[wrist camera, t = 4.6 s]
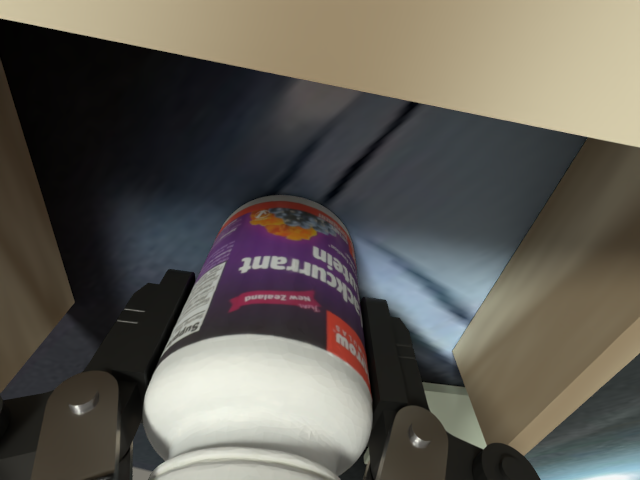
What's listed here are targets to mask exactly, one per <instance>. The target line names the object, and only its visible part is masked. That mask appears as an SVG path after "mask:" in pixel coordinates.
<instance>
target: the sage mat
mask: <svg viewBox="0 0 640 480" xmlns="http://www.w3.org/2000/svg"><path fill="white" fill-rule="evenodd" d="M422 384H423V388H424V391H425V395H426V399H427V403H428V406H429V409H430V411H431V413H432V414H434V415H435V416H436V417H437V418H438V419H439V421H440V422H441V423H442V425H443V426H444V428H445V430H446V431H447V432H448V433H450V434H451V435H453V436H455V437H457V438H459V439H461V440H464V441H466V442H468V443H470V444H472V445H475V446H477V447H479V448H481V449H484V448H485V447H486V446H487V445H486V442H485V439H484V437H483V434H482V431H481V428H480V426H479V423H478V420H477V417H476V415H475V412H474V409H473V407H472V404H471V401H470V398H469V396H468V393H467V390H466V387H459V386H451V385H442V384H434V383H426V382H422ZM369 460H370V455H369V447H368V449H367V451H366V452H365V454H364V464H368V462H369Z"/></svg>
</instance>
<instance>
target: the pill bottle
mask: <svg viewBox="0 0 640 480" xmlns="http://www.w3.org/2000/svg"><path fill="white" fill-rule="evenodd" d="M372 401H373V400H372V394H371V388H370V380H369V373H368V365H367V358H366V350H365V341H364V332H363V322H362V315H361V306H360V297H359V287H358V278H357V268H356V259H355V253H354V247H353V243H352V240H351V237H350V235H349V232H348V231H347V229H346V227H345V226H344V224H343V223H342V222H341V221H340V220H339V218H338V217H337V216H335V215H334V214H333V213H332V212H331V211H330V210H328V209H327V208H325V207H324V206H322V205H320V204H318V203H316V202H314V201H311V200H308V199H305V198H301V197H297V196H291V195H271V196H266V197H261V198H258V199H255V200H252V201H250V202H248V203H246V204H244V205H242V206H241V207H240V208H238V209H237V210H236V211H235V212H233V213H232V214H231V215H230V216H229V217H228V219H227V220H226V221H225V223H224V224H223V226H222V228H221V230H220V232H219V233H218V235H217V237H216V239H215V241H214V244H213V246H212V248H211V250H210V252H209V254H208V256H207V259H206V261H205V263H204V265H203V267H202V269H201V271H200V274H199V276H198V278H197V280H196V282H195V284H194V286H193V288H192V291H191V293H190V295H189V297H188V299H187V301H186V303H185V305H184V308H183V310H182V312H181V314H180V317H179V319H178V321H177V323H176V325H175V327H174V329H173V332H172V334H171V336H170V339H169V341H168V343H167V345H166V347H165V349H164V351H163V353H162V355H161V357H160V360H159V362H158V364H157V367H156V369H155V371H154V374H153V376H152V379H151V381H150V383H149V386H148V388H147V391H146V394H145V397H144V402H143V413H142V417H143V425H144V429H145V432H146V435H147V437H148V439H149V441H150V443H151V445H152V446H153V448H154V449H155V450H156V452H157V453H158V454H159V455H160V456H161V457H162V458H163V459H164V460H165V462H164V463H162V464H161V465H159V466H158V467H157V468H156V469H155V470H154V471H153V472H152V473H151V474H150V477H149V479H148V480H341V479H340V478H339V477H338V476H339V475H341V474H342V473H344V472H345V471H346V470H348V469H349V468H350V467H351V466H352V465H353V464H354V463H355V462H356V461H357V460H358V458H359V457H360V456H361V454H362V453H363V451H364V449H365V448H366V445H367V443H368V441H369V437H370V434H371V430H372V421H373V412H372Z"/></svg>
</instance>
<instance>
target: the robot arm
mask: <svg viewBox="0 0 640 480" xmlns="http://www.w3.org/2000/svg"><path fill="white" fill-rule="evenodd" d="M194 284H195V273H194V272H188V271H181V270H174V269H169V270H168V271H167V272H166V274H165V276H164V277H163V279H162V281H161V283H160V284H152V283H148V284H146V285H145V286H144V287H142V288H141V289H140V290H138V291H137V292H135V293H134V294H133V296H132V297H131V299H130V300H129V302H128V303H127V305H126V306H125V309H124V311H122V313H121V314H120V316H119V317H118V319H117V322H115V324H114V325H113V327H112V328H111V330H110V331H109V333H108V335H107V336H106V338H105V339H104V341H103V342H102V344H101V346H100V347H99V349H98V350H97V352H96V353H95V355H94V356H93V358H92V360H91V361H90V363H89V364H88V366H87V367H86V368H85V370H84V371H83V372H82V373H79V374H77V375H74V376H72V377H70V378H69V379H67V380H65V381H64V382H63V383H61V384H60V385H59V386H58V387H57V388H56V389H55V390H53V391H50V392H47V393H42V394H37V395H31V396H26V397H20V398H15V399H9V400H2V398H1V396H0V480H132V467H133V442H132V441H133V439H134V436H135V434H136V432H137V429H138V427H139V425H140V423H143V417H142V413H143V402H144V397H145V394H146V391H147V388H148V386H149V383H150V381H151V379H152V376H153V374H154V371H155V369H156V367H157V364H158V362H159V360H160V357H161V355H162V353H163V351H164V349H165V347H166V345H167V343H168V341H169V339H170V336H171V334H172V332H173V329H174V327H175V325H176V323H177V321H178V319H179V317H180V314H181V312H182V310H183V308H184V305H185V303H186V301H187V299H188V297H189V295H190V293H191V291H192V288H193V286H194ZM360 306H361V315H362V322H363V332H364V341H365V350H366V358H367V365H368V373H369V380H370V388H371V394H372V400H373V401H372V412H373V421H372V430H371V434H370V437H369V441H368V443H367V445H366V446H369V455H370V460H369V462H368V464H367V467H366V470H365V474H364V477H363V480H540V478H539V476H538V475H537V473H536V471H535V470H534V468H533V467H532V465H531V464H530V463H529V461H528V460H527V459H526V458H525V457H524V456H523V455H522V454H521V453H520V452H518V451H517V450H516V449H514V448H512V447H511V446H509V445H506V444H503V443H491V444H489V445H487V446H486V447H485V448H484V449H481V448H479V447H477V446H475V445H472V444H470V443H468V442H466V441H464V440H461V439H459V438H457V437H455V436H453V435H451V434H450V433H448V432H447V431H446V430H445V428H444V426H443V425H442V423H441V422H440V421H439V419H438V418H437V417H436V416H435V415H434V414H432V413H431V411H430V409H429V406H428V403H427V399H426V395H425V391H424V388H423V384H422V380H421V376H420V372H419V368H418V364H417V360H415V358H416V357H415V353H414V349H413V348H412V346H413V345H412V341H411V337H410V333H409V331H408V329H407V328H406V326H405V325H404V323H403V322H402V321H401V319H400V318H397V317H390V314H389V309H388V304H387V301H386V300H382V299H375V298H368V297H363V298H362V300H361V302H360Z"/></svg>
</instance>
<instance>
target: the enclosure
mask: <svg viewBox="0 0 640 480" xmlns="http://www.w3.org/2000/svg"><path fill="white" fill-rule="evenodd" d="M0 18H1V19H6V20H11V21H16V22H21V23H26V24H31V25H36V26H41V27H46V28H51V29H56V30H61V31H65V32H70V33H75V34H80V35H85V36H90V37H95V38H100V39H105V40H110V41H115V42H120V43H125V44H130V45H135V46H140V47H145V48H150V49H155V50H160V51H164V52H169V53H174V54H179V55H184V56H189V57H194V58H199V59H204V60H209V61H214V62H219V63H224V64H229V65H234V66H239V67H244V68H249V69H254V70H259V71H263V72H268V73H273V74H278V75H283V76H288V77H293V78H298V79H303V80H308V81H313V82H318V83H323V84H328V85H333V86H338V87H343V88H348V89H353V90H358V91H362V92H367V93H372V94H377V95H382V96H387V97H392V98H397V99H402V100H407V101H412V102H417V103H422V104H427V105H432V106H437V107H442V108H447V109H452V110H457V111H462V112H466V113H471V114H476V115H481V116H486V117H491V118H496V119H501V120H506V121H511V122H516V123H521V124H526V125H531V126H536V127H541V128H546V129H551V130H556V131H561V132H565V133H570V134H575V135H580V136H585V137H588V138H587V140H586V141H585V143H584V145H583V146H582V148H581V149H580V151H579V152H578V154H577V156H576V157H575V159H574V160H573V162H572V163H571V165H570V167H569V168H568V170H567V171H566V173H565V174H564V176H563V178H562V179H561V181H560V182H559V184H558V185H557V187H556V189H555V190H554V192H553V193H552V195H551V196H550V198H549V200H548V201H547V203H546V204H545V206H544V208H543V209H542V211H541V212H540V214H539V215H538V217H537V219H536V220H535V222H534V223H533V225H532V226H531V228H530V230H529V231H528V233H527V234H526V236H525V237H524V239H523V241H522V242H521V244H520V245H519V247H518V248H517V250H516V252H515V253H514V255H513V256H512V258H511V259H510V261H509V263H508V264H507V266H506V267H505V269H504V271H503V272H502V274H501V275H500V277H499V278H498V280H497V282H496V283H495V285H494V286H493V288H492V289H491V291H490V293H489V294H488V296H487V297H486V299H485V300H484V302H483V304H482V305H481V307H480V308H479V310H478V311H477V313H476V315H475V316H474V318H473V319H472V321H471V322H470V324H469V326H468V327H467V329H466V330H465V332H464V334H463V335H462V337H461V338H460V340H459V341H458V343H457V345H456V346H455V348H454V349H453V351H452V352H453V355H454V357H455V360H456V363H457V366H458V368H459V371H460V374H461V377H462V379H463V382H464V385H465V387H466V390H467V393H468V396H469V398H470V401H471V404H472V407H473V409H474V412H475V415H476V417H477V420H478V423H479V426H480V428H481V431H482V434H483V437H484V439H485V442H486V445H489V444H491V443H503V444H506V445H509V446H511V447H512V448H514V449H516V450H517V451H518V452H520V453H521V454H522V455H523V456H524V455H525V454H526V453H528V452H529V451H530V450H531V449H532V448H533V447H534V446H535V445H537V444H538V443H539V442H540V441H541V440H542V439H543V438H544V437H546V436H547V435H548V434H549V433H550V432H551V431H552V430H553V429H555V428H556V427H557V426H558V425H559V424H560V423H561V422H562V421H564V420H565V419H566V418H567V417H568V416H569V415H570V414H571V413H573V412H574V411H575V410H576V409H577V408H578V407H579V406H580V405H582V404H583V403H584V402H585V401H586V400H587V399H588V398H589V397H591V396H592V395H593V394H594V393H595V392H596V391H597V390H598V389H600V388H601V387H602V386H603V385H604V384H605V383H606V382H607V381H609V380H610V379H611V378H612V377H613V376H614V375H615V374H616V373H618V372H619V371H620V370H621V369H622V368H623V367H624V366H625V365H627V364H628V363H629V362H630V361H631V360H632V359H633V358H635V357H636V356H637V355H638V354H639V353H640V0H0ZM74 303H75V301H74V298H73V295H72V291H71V288H70V285H69V281H68V278H67V275H66V272H65V268H64V265H63V262H62V259H61V255H60V252H59V249H58V246H57V242H56V239H55V236H54V232H53V229H52V226H51V223H50V219H49V216H48V213H47V210H46V206H45V203H44V200H43V196H42V193H41V190H40V187H39V183H38V180H37V177H36V174H35V170H34V167H33V164H32V160H31V157H30V154H29V151H28V147H27V144H26V141H25V138H24V134H23V131H22V128H21V125H20V121H19V118H18V115H17V111H16V108H15V105H14V102H13V98H12V95H11V92H10V89H9V85H8V82H7V79H6V75H5V72H4V69H3V66H2V62H1V59H0V393H1V392H2V391H3V389H4V388H5V387H6V386H7V384H8V383H9V382H10V381H11V380H12V378H13V377H14V376H15V375H16V374H17V372H18V371H19V370H20V369H21V367H22V366H23V365H24V364H25V363H26V361H27V360H28V359H29V358H30V356H31V355H32V354H33V353H34V352H35V350H36V349H37V348H38V347H39V345H40V344H41V343H42V342H43V341H44V339H45V338H46V337H47V336H48V334H49V333H50V332H51V331H52V330H53V328H54V327H55V326H56V325H57V323H58V322H59V321H60V320H61V319H62V317H63V316H64V315H65V314H66V313H67V311H68V310H69V309H70V308H71V306H72V305H73V304H74Z"/></svg>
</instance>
